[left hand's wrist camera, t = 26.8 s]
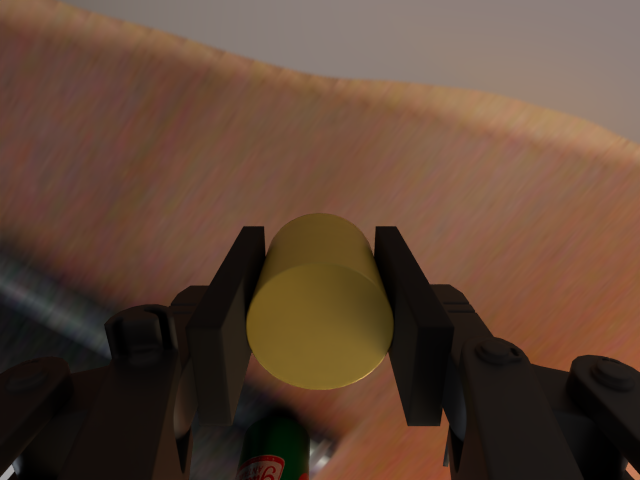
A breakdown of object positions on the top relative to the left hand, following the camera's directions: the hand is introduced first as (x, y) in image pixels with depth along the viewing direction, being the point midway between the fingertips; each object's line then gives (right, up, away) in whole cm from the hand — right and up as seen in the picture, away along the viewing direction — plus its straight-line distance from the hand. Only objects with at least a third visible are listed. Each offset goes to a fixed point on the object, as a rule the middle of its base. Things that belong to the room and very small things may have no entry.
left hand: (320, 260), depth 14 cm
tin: (0, 0, 0) cm, 0 cm away
